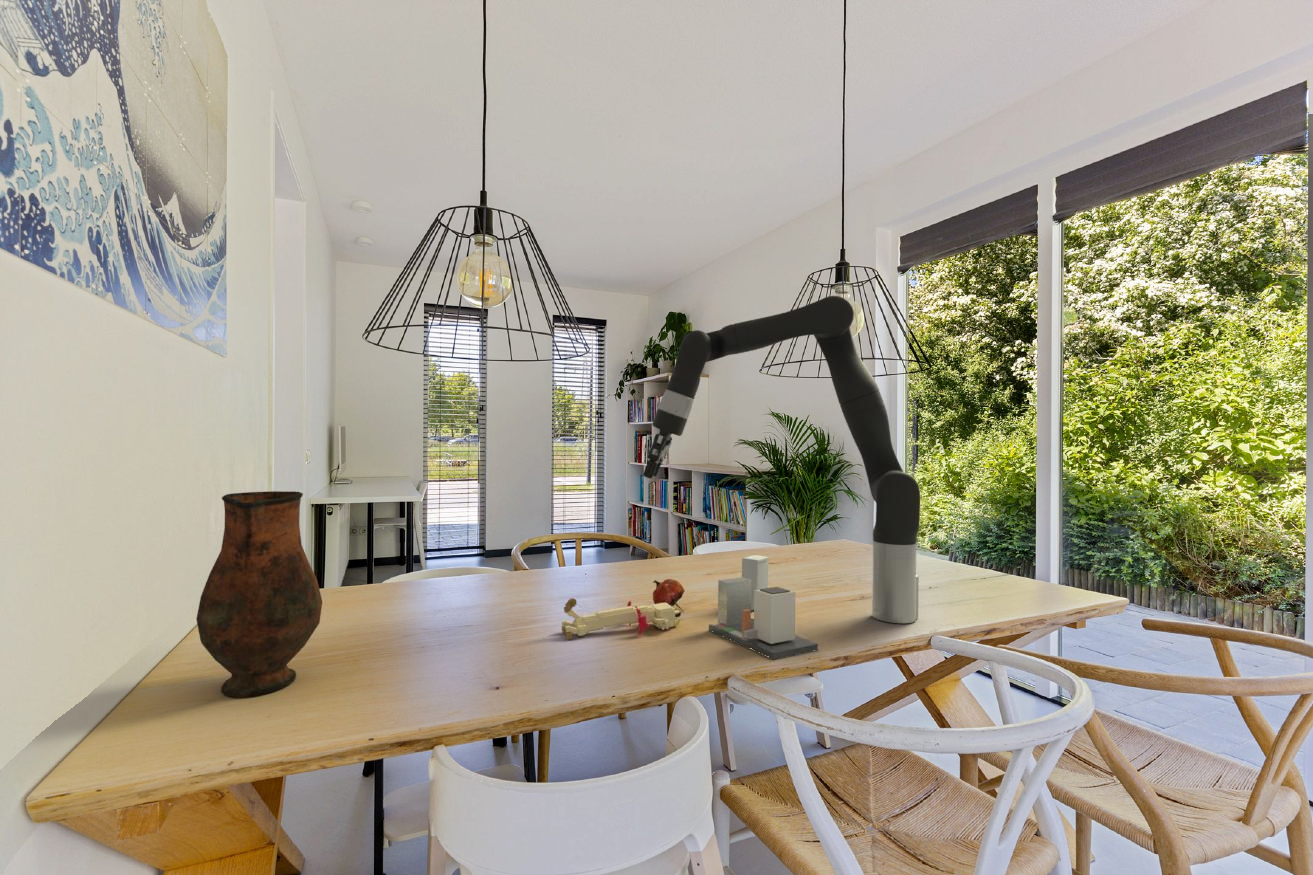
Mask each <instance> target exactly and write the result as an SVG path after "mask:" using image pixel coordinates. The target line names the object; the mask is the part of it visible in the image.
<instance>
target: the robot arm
mask: <svg viewBox="0 0 1313 875" xmlns="http://www.w3.org/2000/svg"><path fill="white" fill-rule="evenodd" d="M854 318H855V309H854V306H853V305H852V303H851V302H850V301H849V300H848V299H846V298H845V297H843V296H842V295H841V296H840V295H829V296H826V297H823V298H821V299H819V300H816V301H814V302H811V303H809V304H807V305H803V306H801V307H798V308H795V309H791V310H788V311H786V312H782V313H779V314H778V313H777V314H773V315H769V316H764V317H760V318H754V319H750V320H746V321H745V320H744V321H740V322H736V323H733V324H728V325H725V326H723V327H722V328H720V329H719V330H714V331H710V332H704V331H702V330H699V329H698V330H697V329H695V330H692V331H689V332H688V333H686V335H685V336H684V337H683V339H682V341H681V343H680V346H679V349H678V353H677V357H676V359H675V364H674V369H673V371H672V374H671V376H670V378H669V381H668V384H667V385H666V389H665V391H664V393H663V395H662V397H661V399H660V401H659V404H658V407H657V410H656V412H655V416H654V418H653V422H652V427H653V428H656V429H659V432H658V433H656V434H655V435H654V437H653V441H652V444H651V446H650V449H649V452H648V454H647V463H646V466H645V468H644V471H643V474H642V475H643V477H644V478H647V479H653V478H654V477H657V476H658V473H659V471H660V468H661V465H662V463H663V462H664V461H665V459H666V456H667V454H668V452H669V450H670V448H671V445H672V443H673V442H672V440H673V437H672V435H674V436H678V437H680V436H682V435H683V433H684V431H685V427H686V424H687V423H688V420H689V417H690V414H691V411H692V409H693V404H694V400H695V397H696V394H697V392H698V390H699V386H700V382H701V375H702V373H703V370H704V367H705V365H706V363H707V362H709V363H710V362H712V361H715V360H718V359H722V358H724V357H728V356H731V355H738V354H744V353H749V352H753V351H757V350H760V349H763V348H766V347H769V346H772V345H775V344H778V343H781V342H784V341H786V340H787V341H788V340H790V339H795V338H799V337H805V336H814V338H815V340H816V342H817V344H818V346H819V348H820V350H821V352H822V354H823V357H824V358H825V361H826V364H827V366H828V369H829V374H830V377H831V380H832V381H831V382H832V385H833V387H834V391H835V393H836V397H837V401H838V405H839V406H840V409H841V412H842V415H843V417H844V420H845V423H846V425H847V427H848V430H849V431H850V434H851V437H852V438H853V441H854V443H855V445H856V447H857V449H858V451H859V454H860V456H861V459H862V463H863V466H864V469H865V473H866V477H867V480H868V485H869V489H870V494H871V497H872V498H873V501H874V502H875V504H876V506H875V524H874V527H873V531H872V585H871V586H872V587H871V588H872V589H871V592H872V596H871V597H872V600H871V601H872V602H871V606H872V608H871V609H872V610H871V616H872V617H873V618H874V619H876V620H879V621H881V622H885V623H886V622H887V623H892V624H911V623H914V622H916V620H917V619H919V590H920V589H919V587H920V586H919V584H920V583H919V582H920V581H919V576H918V575H917V536H918V533H919V529H920V517H921V516H920V515H921V512H920V511H921V490H920V486H919V484H918V482H917V480H916V479H915V478H914V477H913V476H912V475H911V474H909V473H907V472H904V470H903V468H902V467H901V466H902V465H901V464H900V462H899V459H898V458H897V455H896V453H895V450H894V446H893V444H892V438H891V431H890V422H889V416H888V411H887V408H886V404H885V401H884V400H883V396H882V394H881V391H880V388H879V387H878V384H877V382H876V380H875V379H874V377H873V375H872V374H871V372H870V370H869V369H868V367H867V365H866V364H865V363H864V361H863V360H862V359H861V356H860V355H859V353H858V351H857V347H856V345H855V341H854V338H853V334H852V331H851V326H852V324H853V322H854Z"/></svg>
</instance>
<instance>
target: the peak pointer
mask: <svg viewBox="0 0 1313 875" xmlns="http://www.w3.org/2000/svg"><path fill="white" fill-rule="evenodd" d="M751 618H752V610H749V609H747V610H742V636H743V637H744V631H745V630H750V629H751Z"/></svg>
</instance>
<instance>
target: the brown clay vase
mask: <svg viewBox="0 0 1313 875" xmlns="http://www.w3.org/2000/svg"><path fill="white" fill-rule="evenodd" d="M303 495H304V493H303V492H300V491H294V490H293V491H292V490H291V491H284V490H283V491H281V490H280V491H279V490H278V491H277V490H276V491H275V490H273V491H272V490H271V491H248V492H235V493H226V494H225V495H223V496H221V500H222V501H223V505H224V506H223V508H224V529H223V536H222V542H221V548H220V552H219V554H218V556H217V558H216V559H215V561H214V564H213V566H212V569H210V570H211V571H210V572H209V575H208V576H207V579H206V582H205V584H204V588H203V590H202V591H201V595H200V599H199V604H198V610H197V612H196V623H197V630H198V635H199V641H200V643H201V645H202V646H203V647H204V648H205V650H207V652H208V653H209V654H210V656H211V657H212V658H213V659H214V660H215V661H216V663H218V664H220V666H221V667H223V668H224V669H225V670H226V671H227V672H228V673H230V674H231V676H230V677H229V678H228V679H226V680H225V681H224V682H223V683H222V685H221V686H220V692H221V693H222V694H223V695H224V696H226V697H228V698H234V699H235V698H237V699H238V698H249V697H250V698H251V697H257V696H261V695H265V694H271V693H274V692H276V691H277V692H278V691H279V690H281V689H284V688H286V687H288V686H290V685H292V684H293V683H294V681H295V680H296V678H297V672H296V670H294V669H293V668H289V667H288V664H289V663H290V662H291V660H293V659H294V658H295V657H296V655H297V654H298V653H299V652H300V651H301V650H302V649H303V648H304V647H305V646H306V645H307V643H308V642H309V640H310V638H311V636H312V635H313V634H314V633H315V631H316V629H317V628H318V627H319V625H320V622H321V615H322V607H323V599H322V595H321V590H320V585H319V582H318V579H317V576H316V574H315V572H314V570H313V568H312V566H311V563H310V562H309V560H308V557H307V555H306V553H305V552H306V551H305V550H304V548H303V544H302V537H301V529H300V528H301V527H300V519H301V518H300V515H301V513H300V510H301V509H300V506H301V501H302V500H301V499H302V497H303Z"/></svg>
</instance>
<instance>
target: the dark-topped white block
mask: <svg viewBox="0 0 1313 875" xmlns="http://www.w3.org/2000/svg"><path fill="white" fill-rule="evenodd" d="M796 596H797V595H796V591H792V590H789V589H787V588H783V587H779V586H774V587H768V588H765V589H759V590H754V611H753V619H754V629H750V630H745V631H744V637H745V638H752V637H756V638H758V639H761V640H763V641H765V642H768V643H770V644H773V643H778V642H783V641H788V640H794V639H795V635H796Z"/></svg>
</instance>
